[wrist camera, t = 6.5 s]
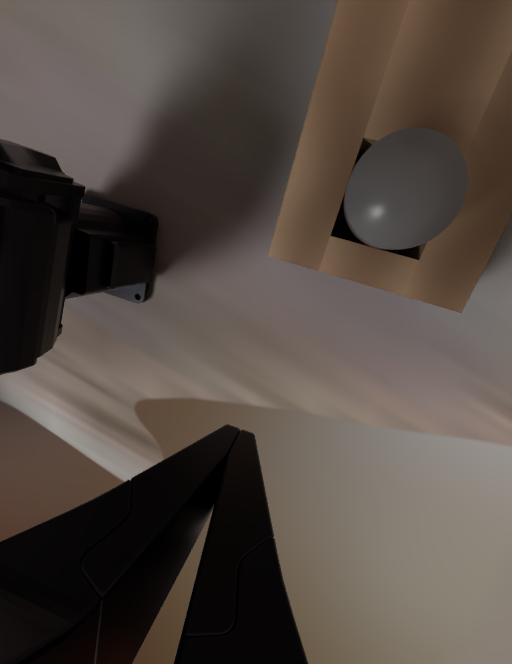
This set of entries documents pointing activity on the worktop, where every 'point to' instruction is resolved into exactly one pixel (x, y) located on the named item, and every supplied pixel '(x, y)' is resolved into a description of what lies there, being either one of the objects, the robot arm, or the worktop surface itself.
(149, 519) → the robot arm
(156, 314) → the worktop surface
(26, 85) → the worktop surface
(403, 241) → the knob
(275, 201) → the worktop surface
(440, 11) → the mount
